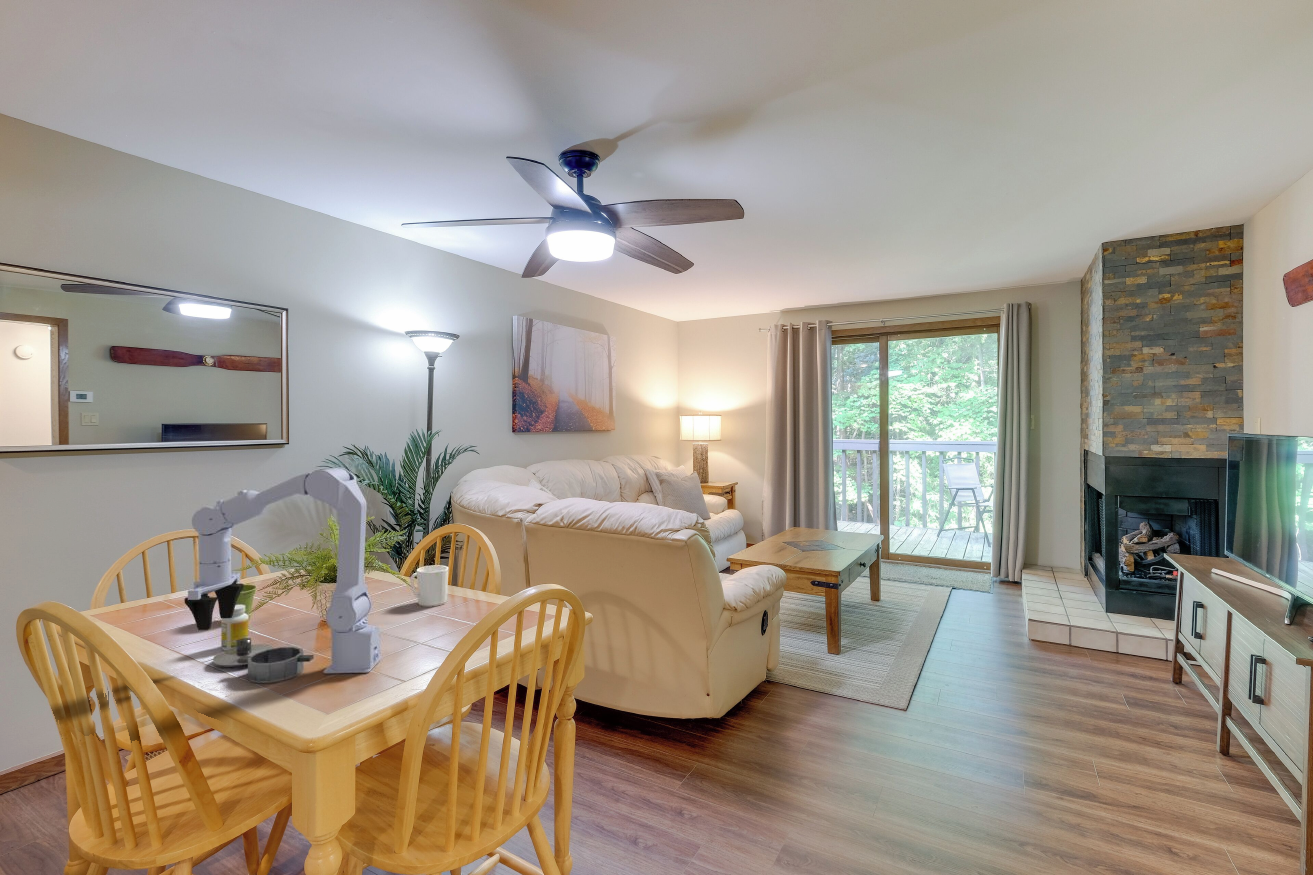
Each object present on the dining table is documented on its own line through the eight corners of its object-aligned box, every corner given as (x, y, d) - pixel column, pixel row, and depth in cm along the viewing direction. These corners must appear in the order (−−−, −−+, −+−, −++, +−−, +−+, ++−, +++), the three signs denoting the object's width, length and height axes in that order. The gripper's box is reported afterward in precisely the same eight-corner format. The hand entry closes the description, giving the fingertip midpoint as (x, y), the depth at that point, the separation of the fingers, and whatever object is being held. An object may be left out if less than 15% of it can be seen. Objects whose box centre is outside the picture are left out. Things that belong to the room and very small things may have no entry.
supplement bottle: (216, 651, 144) (216, 610, 144) (229, 642, 149) (229, 603, 149) (240, 650, 144) (240, 610, 144) (253, 642, 150) (253, 603, 149)
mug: (441, 596, 190) (441, 563, 189) (453, 603, 183) (453, 569, 183) (404, 603, 182) (404, 569, 182) (416, 610, 176) (416, 575, 175)
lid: (282, 651, 144) (282, 631, 144) (255, 670, 133) (255, 648, 133) (232, 652, 143) (232, 632, 143) (201, 671, 132) (201, 649, 132)
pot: (322, 663, 137) (322, 645, 137) (300, 682, 127) (300, 663, 127) (253, 665, 136) (253, 647, 135) (225, 684, 126) (225, 665, 126)
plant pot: (262, 613, 172) (261, 583, 171) (251, 624, 163) (251, 591, 162) (222, 616, 169) (222, 585, 168) (209, 627, 160) (209, 594, 160)
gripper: (216, 554, 139) (217, 613, 140) (171, 569, 125) (172, 635, 125) (249, 553, 140) (249, 612, 140) (208, 568, 126) (209, 634, 126)
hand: (215, 623), depth 133 cm, fingers open, 7 cm apart
